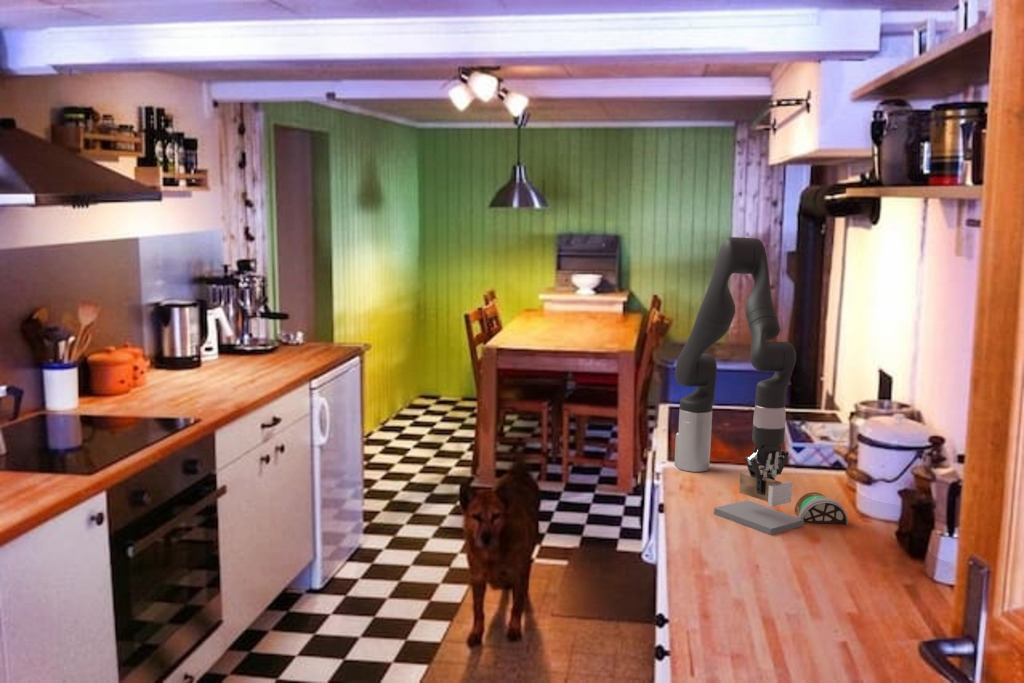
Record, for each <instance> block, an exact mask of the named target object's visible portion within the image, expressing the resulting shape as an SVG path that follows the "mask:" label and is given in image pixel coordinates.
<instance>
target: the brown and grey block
mask: <svg viewBox="0 0 1024 683" xmlns="http://www.w3.org/2000/svg"><path fill="white" fill-rule="evenodd" d="M756 486H757V479H756V478H754V477H751V476H750V473H749V471H743V472H740V473H739V493H740V494H743V495H744V496H745V495H746V496H749V497H752V498H755V499H758V500H760V501H765V502H766V503H767V507H769V508H772V507H776V506H780V505H785V504H789V503H791V502H792V491H793V481H790V480H787V481H782V482H781V481H779V480H772V479H769V478H766V489H765V495H760V494H758V493H757V491H756V488H757V487H756Z"/></svg>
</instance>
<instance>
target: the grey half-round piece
mask: <svg viewBox="0 0 1024 683" xmlns="http://www.w3.org/2000/svg"><path fill="white" fill-rule="evenodd" d="M794 513H795V514H796V517H797V518H800V519H803V520H804V524H807V523H810V524H811V523H812V524H815V523H817V524H845V525H847V526H848V525H849V519H848V518H849V517H848V514H847V512H846V509H845V507H843V505H841V503H840V502H839V501H837V500H835V499H832V498H829V497H827V496H826V495H824V494H822V493H819V492H817V491H816V492H809V493H805V494H803V495H802V496H801V497H800V498H799V499H798V501H797V502H796V504H795V505H794Z"/></svg>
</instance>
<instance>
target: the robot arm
mask: <svg viewBox="0 0 1024 683" xmlns="http://www.w3.org/2000/svg"><path fill="white" fill-rule="evenodd" d="M721 242H722V243H721V244H720V247H719V249H718V251H717V255H716V257H715V262H714V267H713V270H712V274H711V278H710V280H709V281H710V282H709V284H708V286H707V289H706V292H705V294H704V297H703V300H702V301H701V304H700V307H699V310H698V312H697V315H696V318H695V321H694V324H693V326H692V328H691V331H690V334H689V336H688V338H687V341H686V342H685V345H684V346H683V348H682V350H681V352H680V354H679V355H678V357H677V360H676V364H675V369H674V377H675V382H677V383H678V385H680V386H683V387H696V389H695V390H694V391H693V392H691V393H690V394H687V395H685V396H683V397H681V399H680V400H679V414H678V415H679V416H678V432H677V433H676V434H675V442H674V443H675V445H674V461H673V462H674V463H673V464H674V466H676V468H677V469H679V470H682V471H685V472H693V473H694V472H695V473H699V472H700V473H701V472H706V471H709V469H710V460H711V459H710V457H711V444H712V443H711V442H712V441H711V440H712V427H713V426H712V423H713V421H712V420H713V408H714V407H713V406H714V402H715V395H716V384H717V376H718V365H717V360H716V358H715V357H714V355H713V354H711V353H705V352H706V351H707V350H708V349H709V348H711V347H712V346H713V345H715V344H716V343H717V342H718V341H720V340H721V339H722V338H723V337H724V336H725V335H726V334H727V332H728V331H729V329H730V327H731V324H732V322H733V319H734V317H735V314H736V305H735V302H734V301H735V300H734V298H733V295H732V293H731V292H730V289H729V285H728V284H729V280H730V278H731V275H732V274H739V275H741V274H742V275H743V274H744V275H749V274H750V275H751V276H752V278H753V286H752V289H751V291H750V293H749V296H748V297H747V300H746V303H745V311H744V312H745V317H746V320H747V323H748V325H747V326H748V327H749V328H748V329H749V332H750V356H749V358H750V363H751V366H752V367H753V368H754V369H755V370H757V371H759V372H774V374H773V375H772V376H771V377H769V378H767V379H764V380H760V381H758V382H757V383H756V387H755V388H756V389H755V399H754V400H755V402H754V403H755V404H754V410H753V419H752V420H753V421H752V433H751V434H752V436H751V439H752V442H753V444H754V448H753V452H752V454H751V455H750V456H745V458H744V461H745V463H746V467H747V469H748V472H749V473H750V476H751V477H754V478H756V479H757V486H756V487H757V488H756V491H757V493H758V494H760V495H765V489H766V478H769V479H772V480H775V479H776V478H777V476H778V475H781V474H782V473H783V470H784V467H785V465H786V462H787V460H788V457H789V454H790V453H789V451H787V450H783V449H782V445H784V444H785V437H786V436H785V433H786V418H787V415H786V402H787V401H786V398H787V397H786V396H787V389H788V386H789V382H790V379H791V376H792V375H793V371H794V368H795V365H796V362H797V352H796V349H795V347H794V345H793V344H792V343H790V342H789V341H772V340H774V339H776V338H777V337H778V336H779V334H780V331H781V327H780V326H781V325H780V322H779V319H778V315H777V312H776V310H775V306H774V302H773V298H772V297H773V296H772V292H771V291H772V290H771V282H770V272H769V265H768V256H767V251H766V248H765V244H764V243H763V241H762V240H761V239H759V238H754V237H742V236H741V237H740V236H733V237H732V236H730V237H726V238H725V239H724V240H723V241H721Z"/></svg>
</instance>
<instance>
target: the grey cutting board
mask: <svg viewBox="0 0 1024 683" xmlns="http://www.w3.org/2000/svg"><path fill="white" fill-rule="evenodd" d="M713 514H714V515H715V516H718V517H721V518H724V519H726V520H730V521H732V522H735V523H738V524H741V525H743V526H745V527H748V528H751V529H753V530H756V531H759V532H762V533H764V534H767V535H770V536H772V535H775V534H778V533H784V532H786V531H790V530H793V529H798V528H801V527H804V526H805V523H804V520H803V519H800V518H798V517H797V516H795V515H792V514H789V513H786V512H783V511H780V510H777V509H774V508H772V507H770V506H766V505H762V504H760V503H756V502H754V501H752V500H748V499H746V500H742V501H738V502H734V503H729V504H725V505H721V506H717V507H714V509H713Z"/></svg>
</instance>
